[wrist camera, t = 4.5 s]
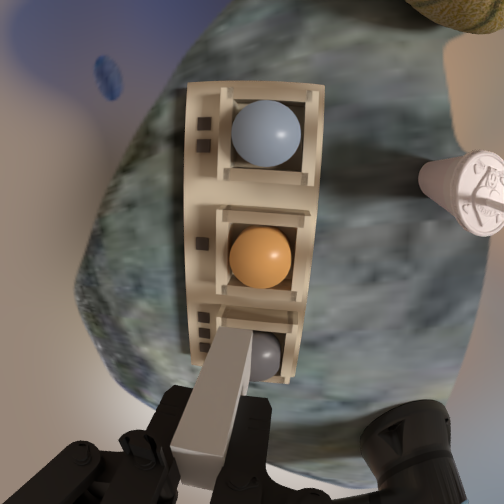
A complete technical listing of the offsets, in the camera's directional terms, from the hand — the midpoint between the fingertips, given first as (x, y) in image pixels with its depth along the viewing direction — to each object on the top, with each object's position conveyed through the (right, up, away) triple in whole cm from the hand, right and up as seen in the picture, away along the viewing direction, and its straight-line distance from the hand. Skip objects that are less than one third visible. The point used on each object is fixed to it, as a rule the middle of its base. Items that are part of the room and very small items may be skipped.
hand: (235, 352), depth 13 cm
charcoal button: (+1, -5, +16) cm, 17 cm away
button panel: (+1, +6, +16) cm, 17 cm away
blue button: (+2, +14, +9) cm, 17 cm away
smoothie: (+19, +12, +12) cm, 25 cm away
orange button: (+2, +5, +13) cm, 14 cm away
